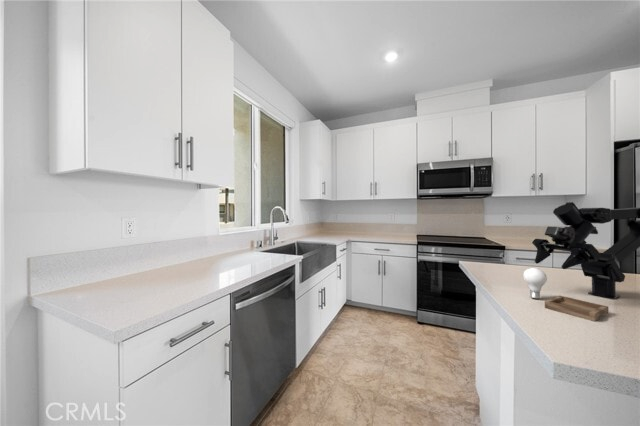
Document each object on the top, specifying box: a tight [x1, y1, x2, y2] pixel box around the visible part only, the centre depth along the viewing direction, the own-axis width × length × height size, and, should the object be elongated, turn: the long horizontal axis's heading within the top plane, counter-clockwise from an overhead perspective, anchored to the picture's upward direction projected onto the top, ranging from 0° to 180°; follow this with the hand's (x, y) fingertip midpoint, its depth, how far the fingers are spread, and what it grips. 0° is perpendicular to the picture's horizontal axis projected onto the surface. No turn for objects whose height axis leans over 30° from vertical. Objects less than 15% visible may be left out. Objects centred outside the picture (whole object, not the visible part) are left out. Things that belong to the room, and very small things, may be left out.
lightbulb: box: [522, 267, 548, 300], centre depth 86 cm, size 6×6×11 cm
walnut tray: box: [544, 295, 610, 322], centre depth 75 cm, size 11×11×2 cm
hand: (548, 265), depth 87 cm, fingers open, 9 cm apart
